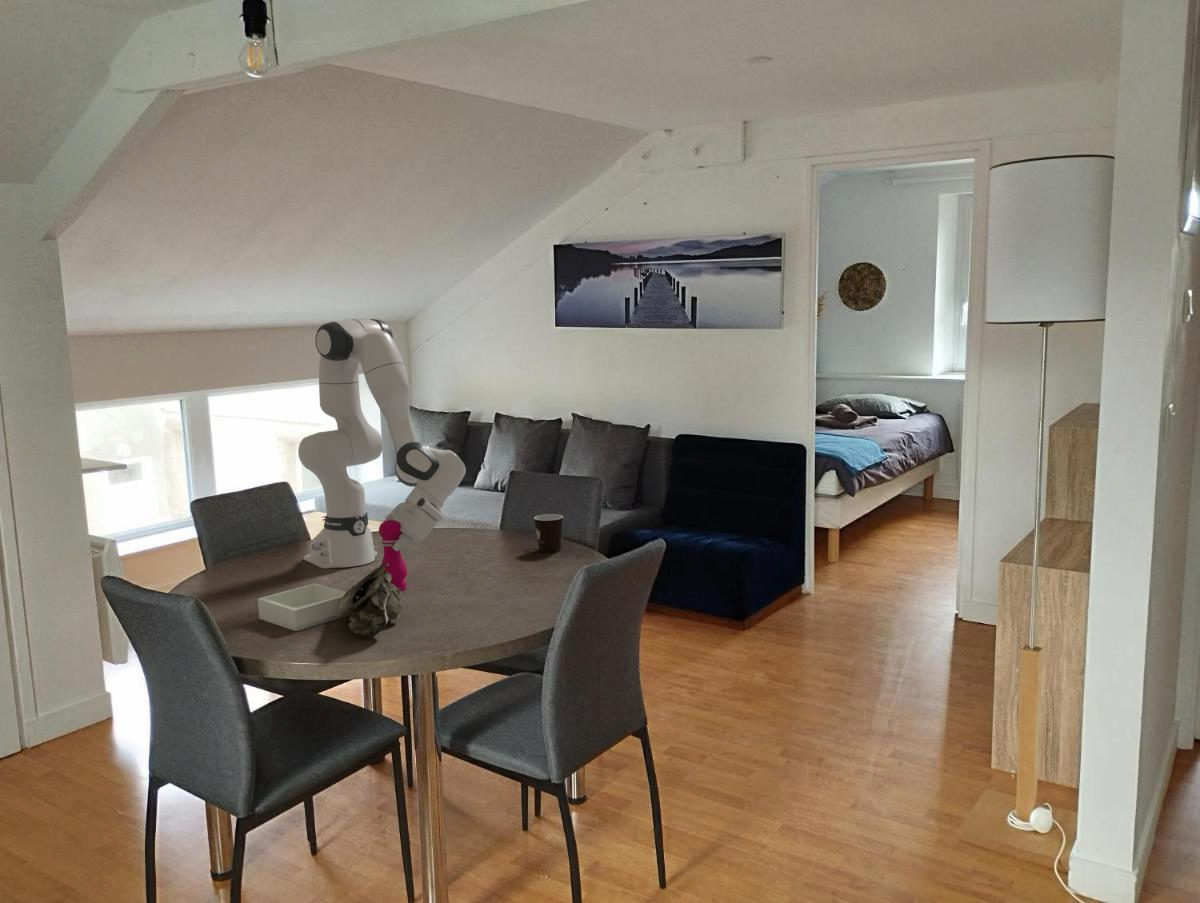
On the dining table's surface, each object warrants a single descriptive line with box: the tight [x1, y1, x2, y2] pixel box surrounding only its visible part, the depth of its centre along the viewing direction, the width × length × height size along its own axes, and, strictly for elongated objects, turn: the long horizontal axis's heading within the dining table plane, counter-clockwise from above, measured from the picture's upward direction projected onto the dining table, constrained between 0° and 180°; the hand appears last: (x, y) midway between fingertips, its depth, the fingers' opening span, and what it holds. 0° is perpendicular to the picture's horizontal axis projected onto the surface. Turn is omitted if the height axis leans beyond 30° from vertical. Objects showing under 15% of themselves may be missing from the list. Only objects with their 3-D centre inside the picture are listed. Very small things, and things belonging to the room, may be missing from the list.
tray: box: [257, 582, 349, 632], centre depth 242 cm, size 16×16×5 cm
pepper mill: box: [378, 513, 408, 592], centre depth 261 cm, size 7×7×20 cm
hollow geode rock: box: [336, 563, 404, 639], centre depth 232 cm, size 28×13×15 cm
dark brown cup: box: [533, 513, 564, 554], centre depth 299 cm, size 12×9×10 cm
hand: (389, 547), depth 261 cm, fingers closed on pepper mill, 5 cm apart
